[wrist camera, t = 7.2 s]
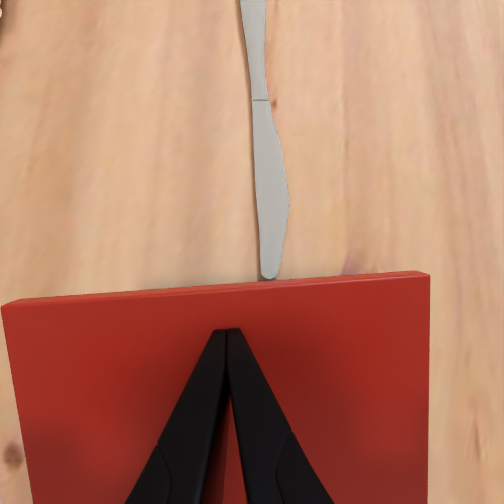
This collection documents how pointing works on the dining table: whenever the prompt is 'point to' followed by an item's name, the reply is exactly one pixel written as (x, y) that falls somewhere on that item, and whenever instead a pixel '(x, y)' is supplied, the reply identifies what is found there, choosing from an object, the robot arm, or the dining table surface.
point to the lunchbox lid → (276, 372)
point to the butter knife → (265, 146)
